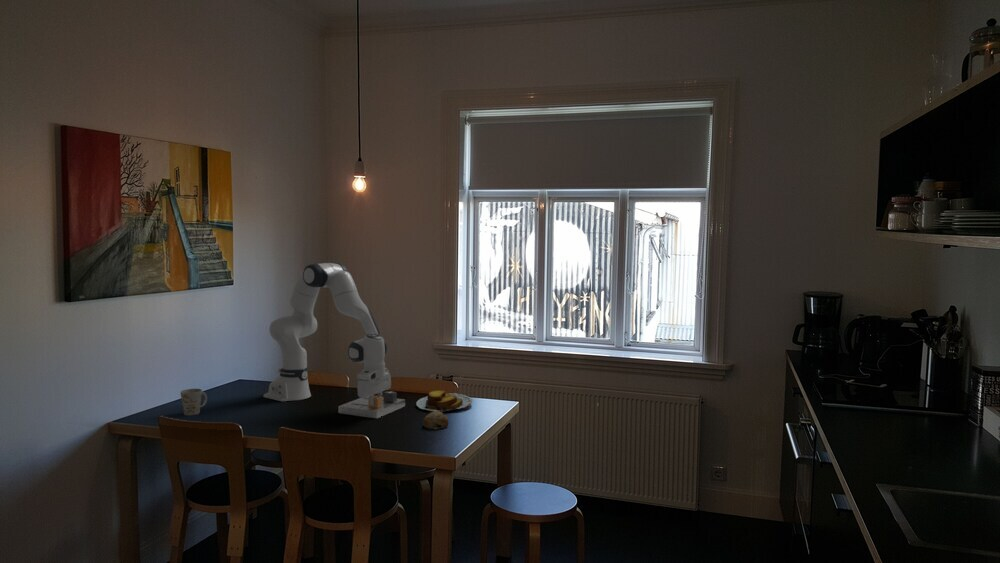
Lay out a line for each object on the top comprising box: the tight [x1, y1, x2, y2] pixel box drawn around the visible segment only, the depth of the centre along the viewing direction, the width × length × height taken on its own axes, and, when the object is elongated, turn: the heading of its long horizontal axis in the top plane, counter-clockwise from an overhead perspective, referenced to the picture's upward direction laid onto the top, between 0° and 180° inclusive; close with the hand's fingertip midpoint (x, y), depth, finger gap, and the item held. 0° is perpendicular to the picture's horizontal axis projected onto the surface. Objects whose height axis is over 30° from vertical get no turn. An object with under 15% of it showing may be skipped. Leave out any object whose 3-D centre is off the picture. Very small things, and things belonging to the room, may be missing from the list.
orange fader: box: [368, 395, 383, 408], centre depth 287 cm, size 5×3×4 cm, turn 66°
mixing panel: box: [337, 396, 406, 419], centre depth 294 cm, size 20×22×3 cm
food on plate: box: [415, 389, 473, 412], centre depth 300 cm, size 25×25×7 cm
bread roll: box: [422, 411, 449, 430], centre depth 269 cm, size 10×10×8 cm
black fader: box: [382, 390, 398, 403], centre depth 295 cm, size 5×3×4 cm, turn 66°
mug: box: [180, 388, 208, 416], centre depth 288 cm, size 8×13×10 cm, turn 160°
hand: (375, 403), depth 287 cm, fingers closed on orange fader, 3 cm apart
